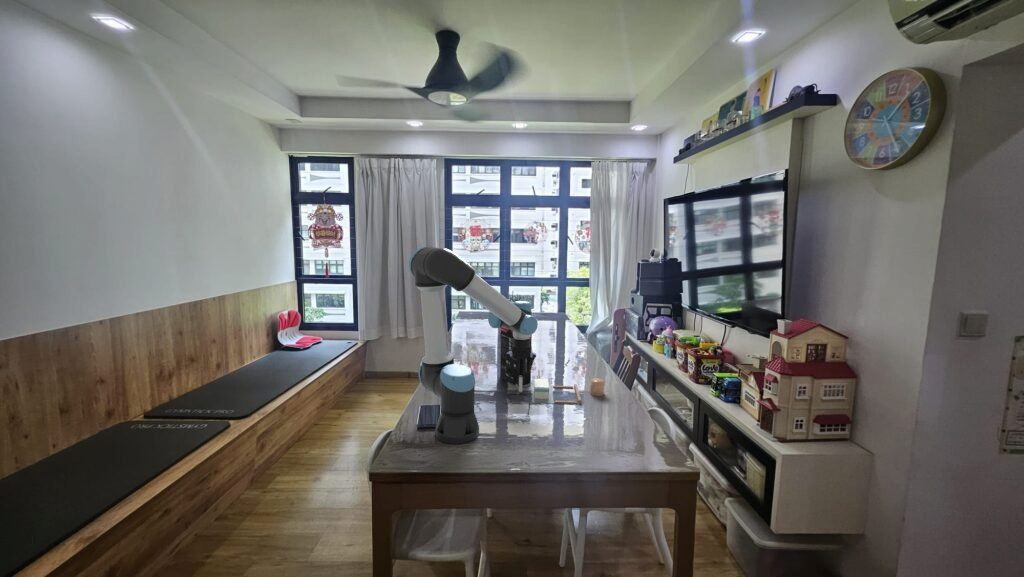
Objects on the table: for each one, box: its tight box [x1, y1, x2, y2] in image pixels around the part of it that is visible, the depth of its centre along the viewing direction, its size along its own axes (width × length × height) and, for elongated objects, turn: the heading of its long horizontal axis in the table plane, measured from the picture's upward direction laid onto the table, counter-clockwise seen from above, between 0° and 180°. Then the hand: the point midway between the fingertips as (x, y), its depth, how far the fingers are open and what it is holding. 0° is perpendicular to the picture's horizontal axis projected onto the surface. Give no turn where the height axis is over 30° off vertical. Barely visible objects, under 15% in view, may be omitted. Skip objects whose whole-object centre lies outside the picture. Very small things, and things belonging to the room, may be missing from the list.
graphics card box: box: [499, 327, 533, 389], centre depth 190 cm, size 17×7×27 cm, turn 35°
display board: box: [531, 383, 582, 405], centre depth 177 cm, size 18×20×3 cm
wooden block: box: [589, 377, 606, 397], centre depth 183 cm, size 6×6×6 cm
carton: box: [533, 378, 550, 399], centre depth 177 cm, size 10×6×5 cm, turn 177°
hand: (520, 390), depth 178 cm, fingers closed
